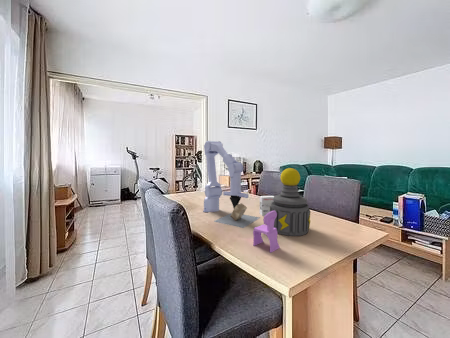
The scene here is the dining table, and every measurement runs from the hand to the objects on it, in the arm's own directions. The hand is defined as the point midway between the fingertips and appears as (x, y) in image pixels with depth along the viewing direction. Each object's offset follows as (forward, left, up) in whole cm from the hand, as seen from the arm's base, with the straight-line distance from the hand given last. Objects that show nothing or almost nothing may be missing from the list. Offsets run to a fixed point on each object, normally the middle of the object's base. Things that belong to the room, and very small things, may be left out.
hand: (235, 209), depth 116 cm
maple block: (0, 0, -4) cm, 4 cm away
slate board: (+1, 0, -6) cm, 6 cm away
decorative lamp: (+28, +3, -6) cm, 29 cm away
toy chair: (+26, -21, -7) cm, 34 cm away
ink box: (+11, +18, -6) cm, 22 cm away
